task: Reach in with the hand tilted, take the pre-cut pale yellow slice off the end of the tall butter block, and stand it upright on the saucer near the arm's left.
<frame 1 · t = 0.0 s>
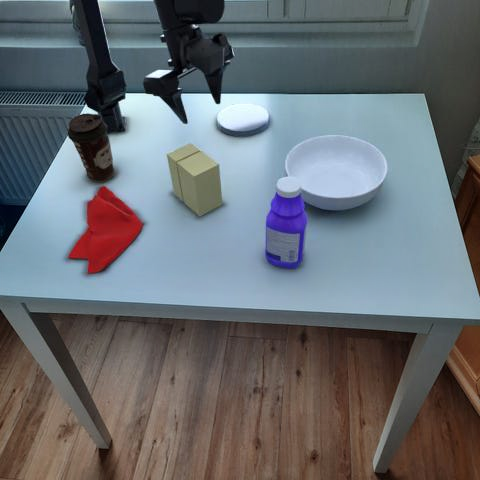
hand: (202, 113, 93), 15 cm above the table, tool pointing down, fingers open, 9 cm apart
butter slice: (189, 192, 103), on the table
saucer: (243, 122, 119), on the table
butter block: (203, 203, 101), on the table
bottle: (284, 259, 90), on the table
serving bowl: (332, 192, 101), on the table
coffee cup: (102, 175, 109), on the table
cloth: (110, 228, 98), on the table
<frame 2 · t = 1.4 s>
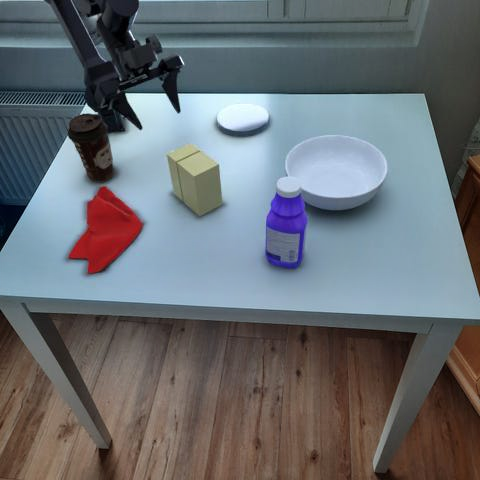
hand: (160, 120, 96), 13 cm above the table, tool tilted 45°, fingers open, 9 cm apart
nothing on the table moved.
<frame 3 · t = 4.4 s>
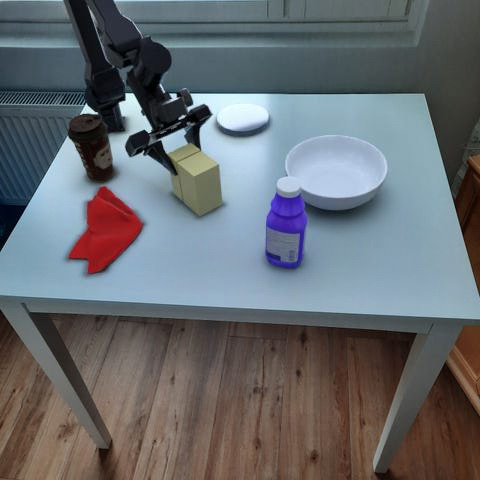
hand: (189, 169, 97), 7 cm above the table, tool tilted 45°, fingers closed on butter slice, 6 cm apart
butter slice: (189, 192, 103), on the table, touching gripper
everything else where it was.
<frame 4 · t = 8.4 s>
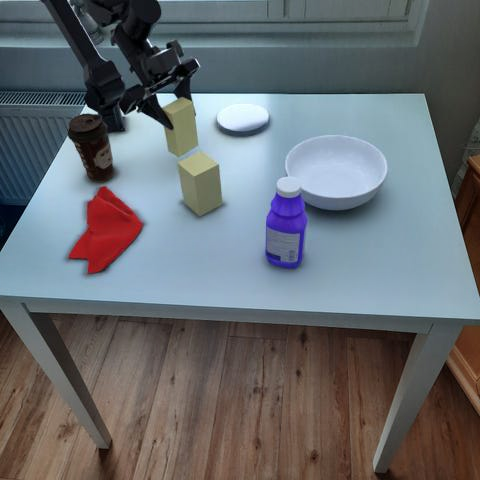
hand: (183, 123, 99), 12 cm above the table, tool tilted 45°, fingers closed on butter slice, 6 cm apart
butter slice: (183, 148, 104), point 5 cm above the table, touching gripper
everything else where it was.
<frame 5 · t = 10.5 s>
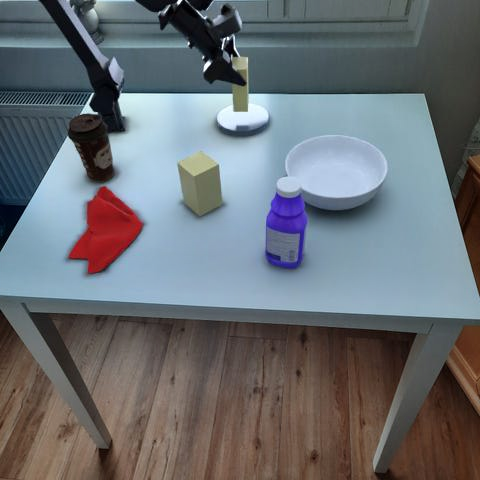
hand: (245, 78, 109), 12 cm above the table, tool tilted 45°, fingers closed on butter slice, 6 cm apart
butter slice: (241, 105, 115), point 5 cm above the table, touching gripper
everything else where it was.
when the fingers open (8 cm above the table, at t = 12.5 s): butter slice stays where it is, resting on saucer.
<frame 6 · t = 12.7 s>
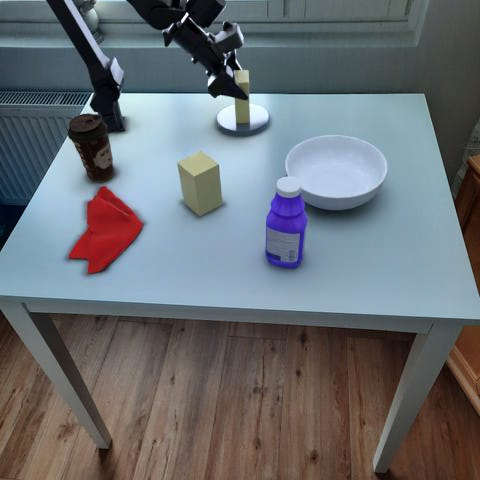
hand: (247, 90, 113), 8 cm above the table, tool tilted 45°, fingers open, 7 cm apart
butter slice: (242, 116, 118), point 2 cm above the table, touching saucer
everything else where it was.
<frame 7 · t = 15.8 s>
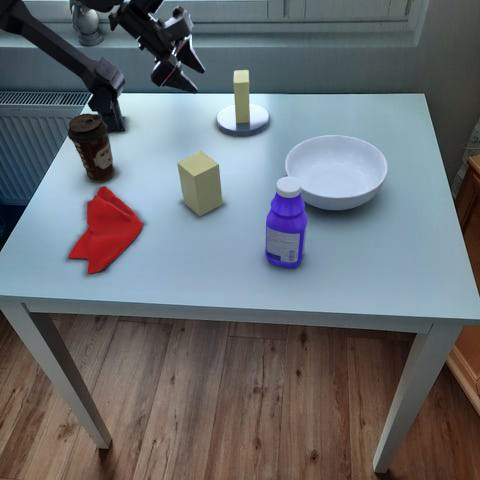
hand: (200, 82, 108), 12 cm above the table, tool tilted 45°, fingers open, 9 cm apart
nothing on the table moved.
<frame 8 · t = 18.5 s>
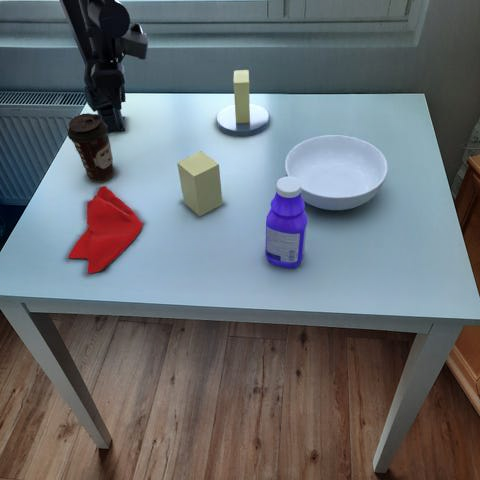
hand: (119, 98, 103), 13 cm above the table, tool pointing down, fingers open, 9 cm apart
nothing on the table moved.
at the end: butter slice 0.0 cm off-centre on the saucer, point 1.5 cm above the saucer's base; butter slice tilted 0°; butter block moved 0.0 cm from its start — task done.
